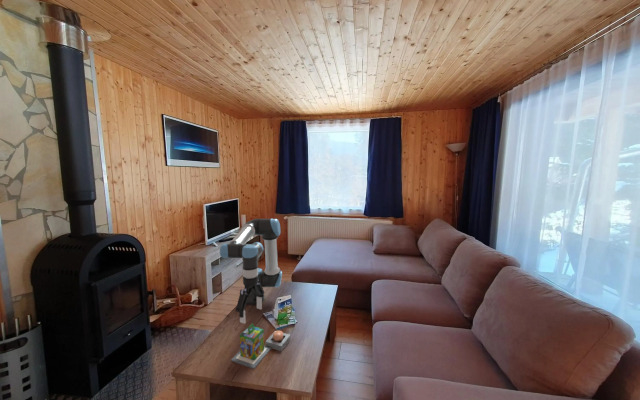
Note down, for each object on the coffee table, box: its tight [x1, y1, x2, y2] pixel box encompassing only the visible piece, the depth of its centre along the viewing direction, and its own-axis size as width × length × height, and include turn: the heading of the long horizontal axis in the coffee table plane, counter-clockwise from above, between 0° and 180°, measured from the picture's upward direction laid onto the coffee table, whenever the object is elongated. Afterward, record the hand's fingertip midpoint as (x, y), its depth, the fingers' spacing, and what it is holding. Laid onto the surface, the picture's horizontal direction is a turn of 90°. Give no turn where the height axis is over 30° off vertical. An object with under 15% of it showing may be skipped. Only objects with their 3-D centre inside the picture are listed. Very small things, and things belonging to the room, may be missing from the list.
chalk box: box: [239, 323, 265, 360], centre depth 127 cm, size 9×9×15 cm
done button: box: [272, 330, 284, 342], centre depth 136 cm, size 6×6×2 cm
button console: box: [265, 332, 291, 352], centre depth 136 cm, size 10×10×3 cm
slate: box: [230, 344, 272, 370], centre depth 127 cm, size 15×14×1 cm
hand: (251, 315), depth 125 cm, fingers open, 13 cm apart
